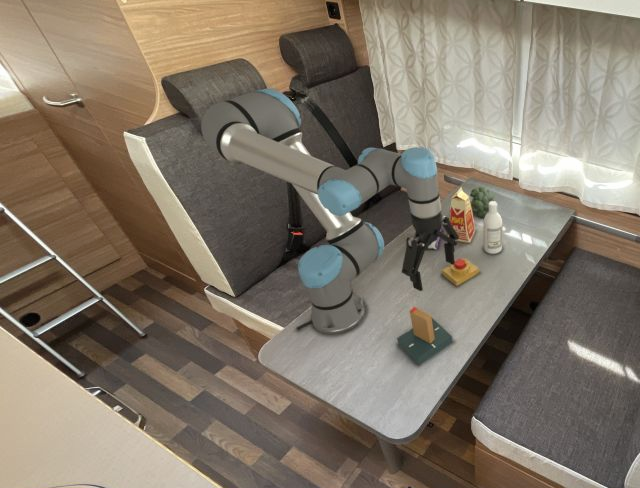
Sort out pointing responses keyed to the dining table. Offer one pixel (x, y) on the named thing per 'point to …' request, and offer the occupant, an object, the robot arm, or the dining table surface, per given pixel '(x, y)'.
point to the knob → (422, 325)
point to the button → (460, 264)
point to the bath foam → (492, 230)
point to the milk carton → (462, 216)
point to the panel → (424, 343)
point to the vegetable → (481, 200)
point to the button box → (460, 272)
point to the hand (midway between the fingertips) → (434, 275)
